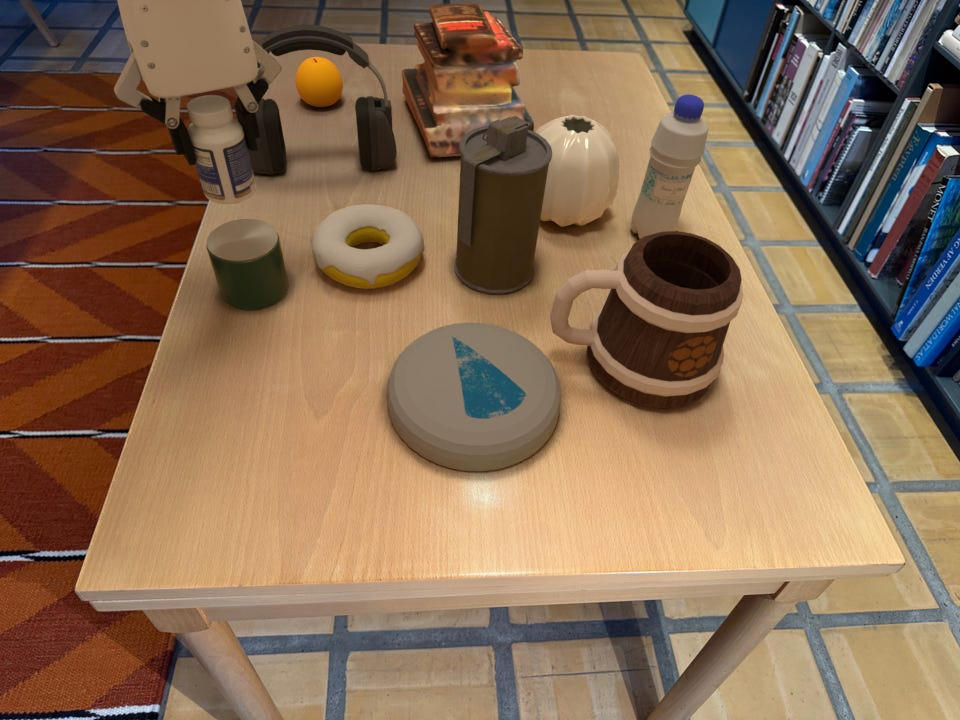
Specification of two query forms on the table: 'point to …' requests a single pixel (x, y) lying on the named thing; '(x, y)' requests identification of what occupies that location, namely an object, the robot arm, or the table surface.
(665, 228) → the bottle
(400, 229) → the donut
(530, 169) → the canister
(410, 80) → the book
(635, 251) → the mug
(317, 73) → the orange
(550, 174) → the vase
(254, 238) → the tin can
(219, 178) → the pill bottle
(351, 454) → the table surface
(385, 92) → the headphones
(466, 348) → the frisbee
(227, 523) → the table surface
